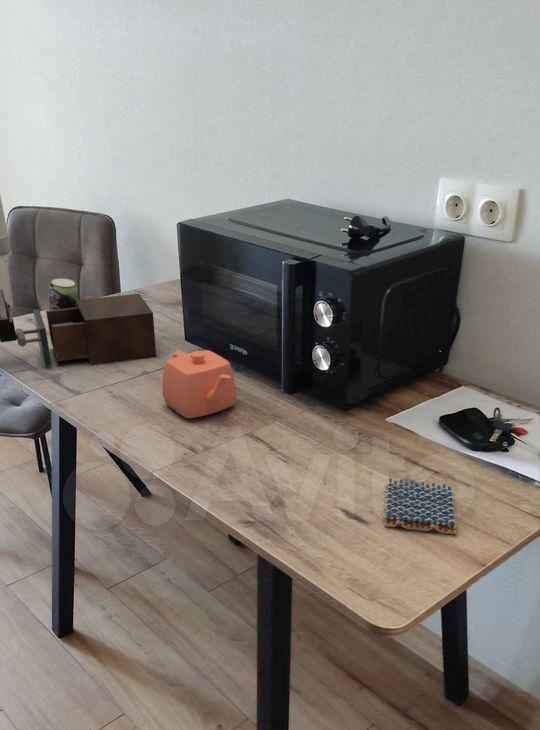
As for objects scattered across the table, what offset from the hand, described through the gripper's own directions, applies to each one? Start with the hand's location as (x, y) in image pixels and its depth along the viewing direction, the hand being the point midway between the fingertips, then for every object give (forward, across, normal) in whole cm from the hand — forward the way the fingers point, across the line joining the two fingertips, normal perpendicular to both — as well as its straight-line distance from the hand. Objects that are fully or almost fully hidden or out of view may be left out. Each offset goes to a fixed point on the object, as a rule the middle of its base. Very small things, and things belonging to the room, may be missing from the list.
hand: (8, 339), depth 141 cm
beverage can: (+5, -13, +12) cm, 19 cm away
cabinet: (+5, 0, +22) cm, 22 cm away
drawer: (+4, 0, +10) cm, 11 cm away
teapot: (+5, +32, +30) cm, 45 cm away
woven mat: (+6, +74, +50) cm, 90 cm away
